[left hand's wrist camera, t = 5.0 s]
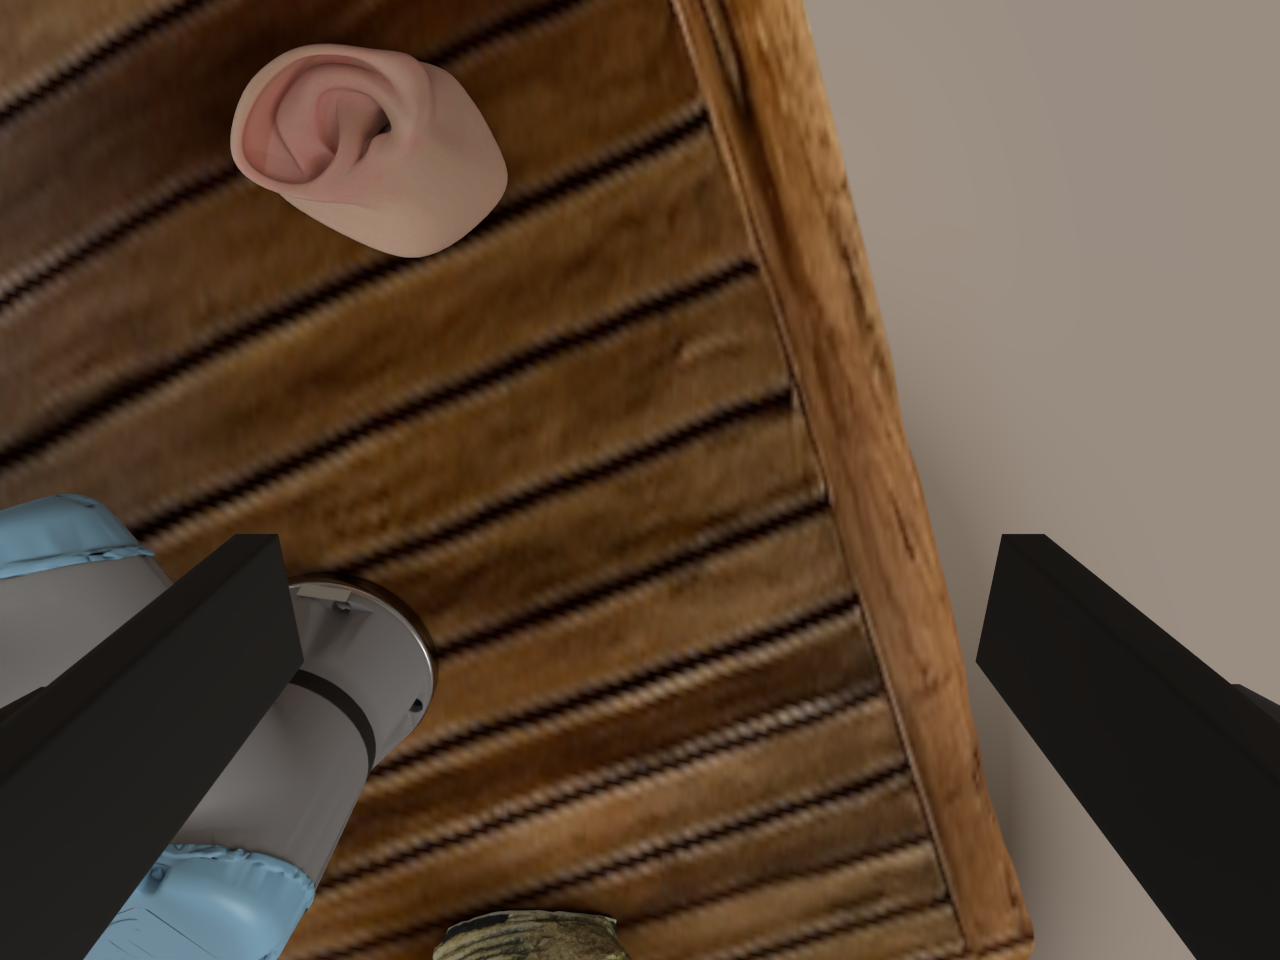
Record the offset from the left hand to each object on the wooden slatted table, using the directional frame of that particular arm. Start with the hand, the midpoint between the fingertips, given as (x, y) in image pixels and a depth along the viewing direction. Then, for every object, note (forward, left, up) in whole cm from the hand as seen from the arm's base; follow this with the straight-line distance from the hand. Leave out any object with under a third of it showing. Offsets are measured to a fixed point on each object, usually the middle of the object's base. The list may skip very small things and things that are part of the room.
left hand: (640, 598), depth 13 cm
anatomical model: (-9, +15, -34) cm, 38 cm away
